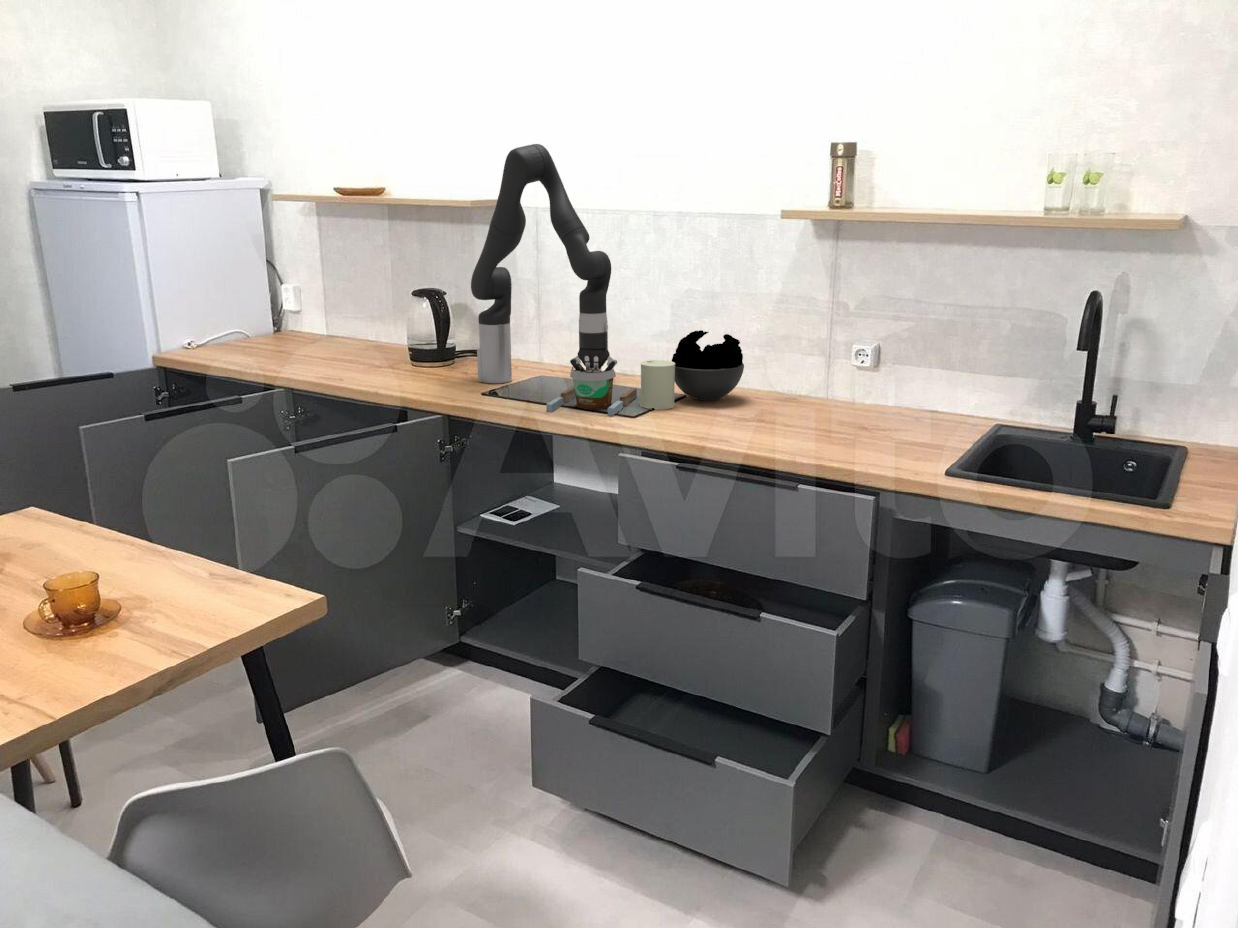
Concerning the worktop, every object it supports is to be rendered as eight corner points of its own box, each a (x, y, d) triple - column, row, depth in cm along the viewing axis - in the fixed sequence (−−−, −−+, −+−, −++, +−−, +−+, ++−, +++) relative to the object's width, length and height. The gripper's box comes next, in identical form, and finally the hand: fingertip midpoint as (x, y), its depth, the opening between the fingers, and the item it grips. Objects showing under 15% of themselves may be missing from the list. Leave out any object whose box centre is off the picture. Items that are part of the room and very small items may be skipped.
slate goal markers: (546, 411, 255) (546, 404, 255) (557, 404, 264) (557, 397, 263) (613, 416, 251) (613, 408, 250) (622, 408, 259) (622, 401, 259)
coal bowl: (658, 395, 275) (658, 327, 270) (723, 390, 282) (725, 324, 277) (687, 410, 257) (688, 338, 252) (755, 404, 264) (758, 334, 259)
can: (656, 400, 268) (657, 357, 265) (681, 406, 262) (682, 361, 259) (632, 405, 262) (633, 361, 259) (658, 411, 256) (658, 365, 253)
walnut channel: (560, 402, 266) (560, 393, 265) (574, 393, 277) (574, 384, 276) (625, 406, 261) (625, 397, 261) (636, 397, 273) (636, 388, 272)
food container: (565, 409, 259) (563, 372, 255) (572, 402, 264) (570, 366, 261) (610, 412, 256) (609, 374, 252) (616, 405, 261) (615, 368, 258)
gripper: (564, 330, 256) (566, 396, 261) (613, 332, 253) (614, 398, 258) (573, 326, 263) (574, 390, 268) (621, 328, 260) (621, 392, 265)
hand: (594, 394), depth 263 cm, fingers closed
